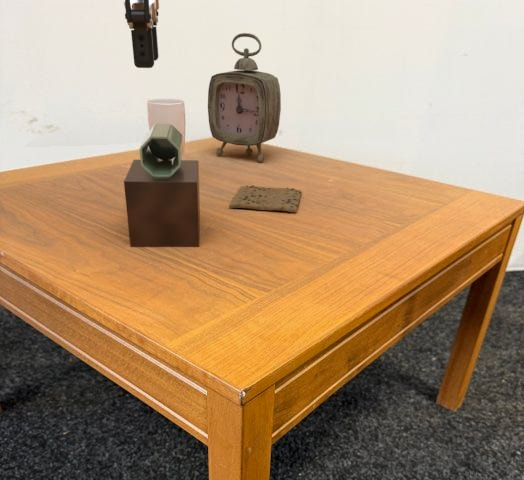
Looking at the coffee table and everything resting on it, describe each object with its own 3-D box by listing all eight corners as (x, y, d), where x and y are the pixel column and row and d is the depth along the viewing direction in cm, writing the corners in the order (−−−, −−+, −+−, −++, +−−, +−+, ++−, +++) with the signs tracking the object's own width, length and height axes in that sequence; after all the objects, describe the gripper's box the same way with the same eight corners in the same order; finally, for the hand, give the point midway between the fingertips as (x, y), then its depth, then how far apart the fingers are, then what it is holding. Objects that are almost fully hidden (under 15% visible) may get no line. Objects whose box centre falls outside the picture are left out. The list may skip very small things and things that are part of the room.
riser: (130, 246, 80) (123, 181, 75) (138, 218, 90) (133, 159, 85) (199, 246, 81) (197, 181, 76) (200, 219, 91) (198, 160, 86)
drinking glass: (153, 189, 104) (147, 103, 96) (152, 179, 109) (146, 97, 101) (189, 188, 105) (186, 103, 97) (186, 179, 111) (182, 98, 103)
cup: (181, 177, 77) (179, 136, 74) (141, 177, 77) (138, 135, 74) (183, 161, 85) (182, 123, 82) (147, 161, 84) (144, 123, 81)
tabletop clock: (208, 156, 127) (206, 31, 114) (227, 149, 134) (227, 30, 120) (264, 165, 122) (269, 35, 108) (281, 157, 129) (287, 34, 115)
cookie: (239, 188, 106) (239, 183, 105) (302, 193, 105) (302, 188, 104) (227, 207, 96) (227, 202, 95) (296, 213, 95) (297, 207, 94)
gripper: (105, -101, 63) (122, 58, 72) (84, -125, 51) (107, 70, 60) (171, -99, 64) (180, 58, 73) (165, -121, 52) (177, 70, 61)
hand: (147, 63), depth 66 cm, fingers open, 8 cm apart
